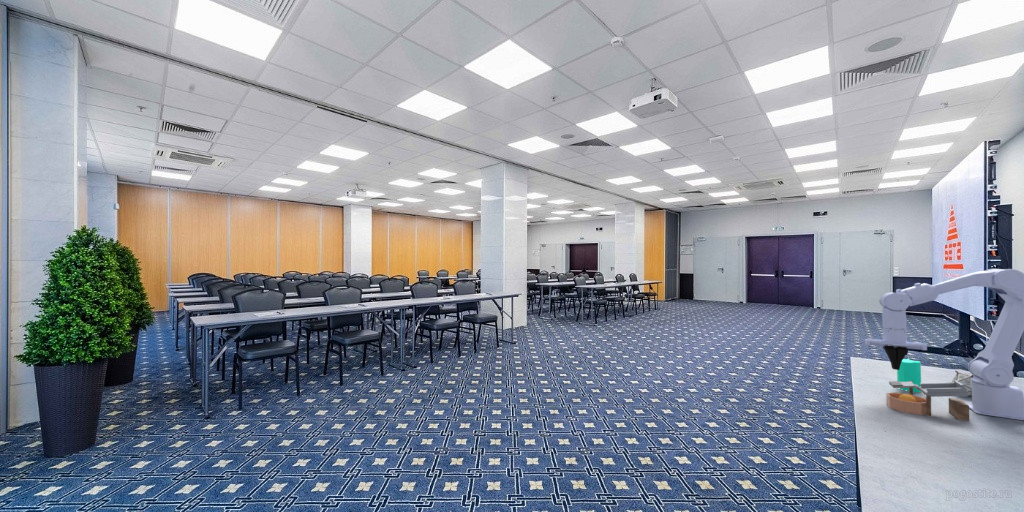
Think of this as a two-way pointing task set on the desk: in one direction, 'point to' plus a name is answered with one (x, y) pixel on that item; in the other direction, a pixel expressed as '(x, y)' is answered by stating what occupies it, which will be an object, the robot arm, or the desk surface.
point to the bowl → (906, 404)
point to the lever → (934, 388)
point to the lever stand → (955, 407)
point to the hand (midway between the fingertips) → (895, 369)
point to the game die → (964, 381)
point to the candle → (910, 373)
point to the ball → (907, 398)
